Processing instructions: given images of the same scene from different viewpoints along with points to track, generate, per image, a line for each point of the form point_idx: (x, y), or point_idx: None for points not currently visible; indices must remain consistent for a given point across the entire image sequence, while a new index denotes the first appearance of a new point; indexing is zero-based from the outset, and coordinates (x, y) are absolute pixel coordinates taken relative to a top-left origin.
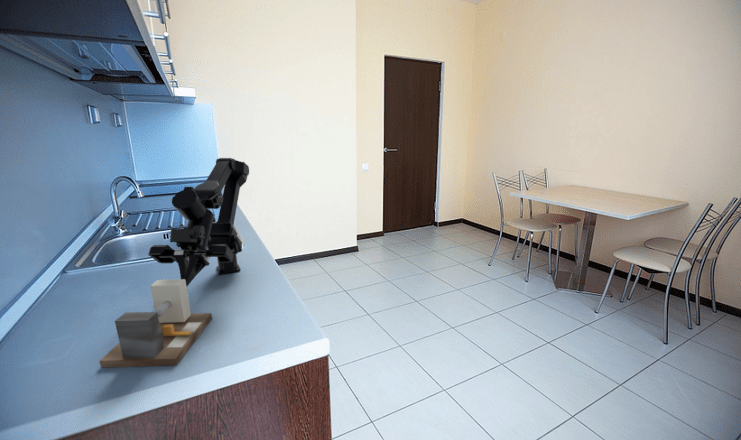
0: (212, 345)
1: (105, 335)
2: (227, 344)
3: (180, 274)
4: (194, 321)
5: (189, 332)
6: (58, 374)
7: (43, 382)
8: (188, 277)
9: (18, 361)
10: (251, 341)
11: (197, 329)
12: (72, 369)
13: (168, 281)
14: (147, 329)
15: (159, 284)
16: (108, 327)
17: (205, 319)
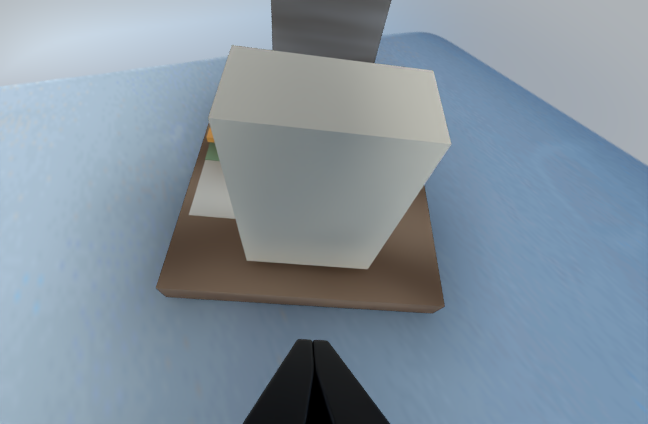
0: (148, 143)
1: (519, 234)
2: (100, 141)
3: (374, 406)
4: (222, 226)
5: (210, 132)
6: (475, 108)
7: (480, 94)
8: (272, 381)
9: (612, 156)
10: (16, 143)
11: (196, 173)
12: (462, 116)
13: (340, 103)
14: None
15: (380, 75)
16: (558, 283)
17: (176, 235)
